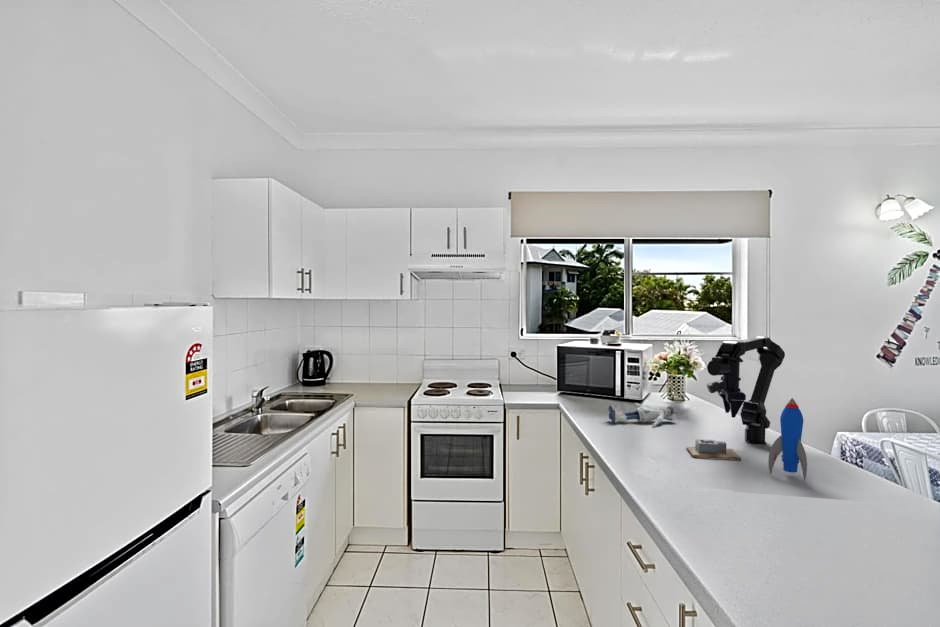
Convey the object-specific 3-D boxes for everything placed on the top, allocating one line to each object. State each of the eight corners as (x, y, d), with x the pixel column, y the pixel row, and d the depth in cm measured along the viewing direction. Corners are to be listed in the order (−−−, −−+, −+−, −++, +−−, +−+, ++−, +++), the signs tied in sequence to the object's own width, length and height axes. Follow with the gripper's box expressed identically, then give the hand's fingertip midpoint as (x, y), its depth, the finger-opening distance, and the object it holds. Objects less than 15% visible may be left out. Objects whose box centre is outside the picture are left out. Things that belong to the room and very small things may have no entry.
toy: (603, 396, 273) (666, 391, 275) (603, 413, 276) (665, 408, 277) (619, 419, 251) (686, 413, 253) (618, 436, 254) (685, 431, 256)
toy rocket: (807, 482, 180) (809, 401, 179) (773, 479, 181) (775, 400, 181) (795, 472, 190) (797, 395, 189) (763, 469, 192) (765, 394, 191)
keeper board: (732, 451, 215) (732, 438, 215) (740, 460, 203) (741, 446, 203) (686, 448, 218) (686, 435, 218) (692, 457, 206) (692, 443, 206)
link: (722, 450, 213) (723, 440, 213) (727, 454, 207) (727, 444, 207) (695, 448, 215) (695, 439, 215) (699, 453, 208) (699, 443, 208)
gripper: (703, 370, 233) (702, 409, 233) (714, 376, 214) (713, 418, 215) (733, 371, 230) (732, 410, 231) (746, 377, 212) (745, 420, 213)
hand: (730, 415), depth 222 cm, fingers open, 9 cm apart
